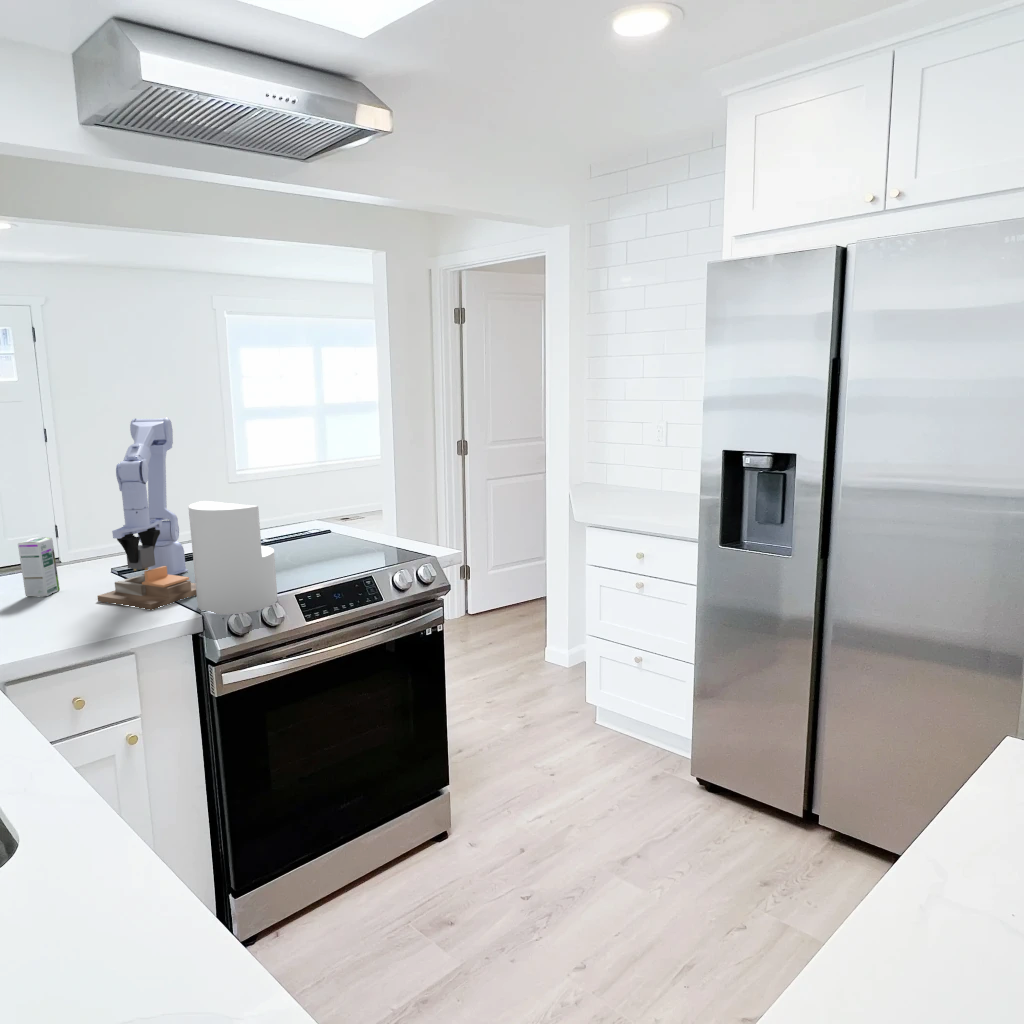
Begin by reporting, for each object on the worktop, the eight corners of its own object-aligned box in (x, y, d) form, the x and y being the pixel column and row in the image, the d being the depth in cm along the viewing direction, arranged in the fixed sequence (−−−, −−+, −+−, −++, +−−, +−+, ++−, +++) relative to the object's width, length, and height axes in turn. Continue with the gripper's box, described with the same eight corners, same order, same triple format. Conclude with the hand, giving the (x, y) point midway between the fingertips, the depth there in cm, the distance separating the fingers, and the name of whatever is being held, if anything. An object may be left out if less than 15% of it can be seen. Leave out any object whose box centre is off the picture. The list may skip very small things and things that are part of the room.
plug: (134, 566, 204) (132, 544, 203) (155, 568, 202) (153, 546, 201) (121, 570, 200) (118, 548, 199) (142, 572, 198) (140, 550, 197)
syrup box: (47, 596, 201) (39, 541, 198) (24, 597, 201) (17, 542, 198) (60, 590, 207) (53, 537, 204) (38, 590, 207) (31, 537, 204)
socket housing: (157, 583, 212) (156, 569, 211) (209, 590, 204) (207, 575, 203) (98, 601, 196) (96, 586, 195) (151, 610, 188) (149, 594, 187)
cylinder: (230, 619, 181) (221, 513, 176) (181, 606, 191) (171, 506, 186) (293, 598, 196) (286, 500, 191) (245, 588, 206) (238, 494, 202)
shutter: (168, 576, 203) (167, 565, 202) (189, 579, 199) (188, 567, 199) (142, 584, 196) (140, 572, 195) (163, 587, 192) (162, 575, 192)
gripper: (145, 502, 206) (150, 552, 208) (100, 512, 192) (106, 566, 194) (166, 503, 203) (171, 554, 206) (123, 513, 190) (129, 568, 192)
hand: (141, 560), depth 200 cm, fingers closed on plug, 4 cm apart
